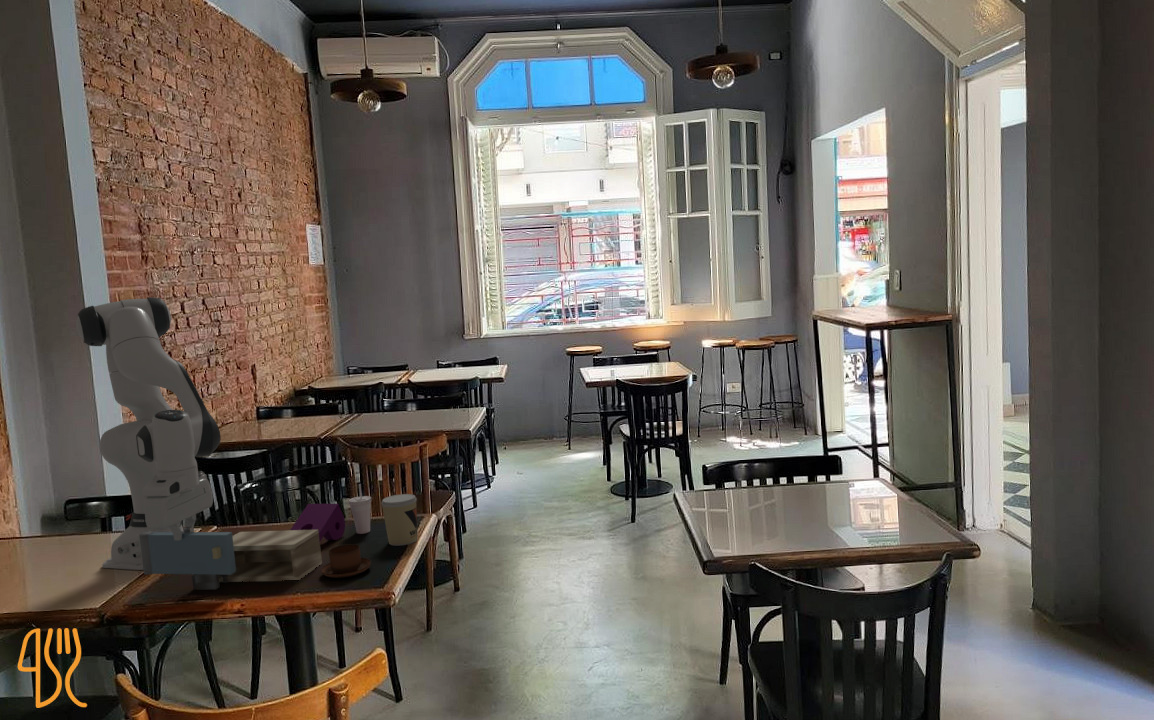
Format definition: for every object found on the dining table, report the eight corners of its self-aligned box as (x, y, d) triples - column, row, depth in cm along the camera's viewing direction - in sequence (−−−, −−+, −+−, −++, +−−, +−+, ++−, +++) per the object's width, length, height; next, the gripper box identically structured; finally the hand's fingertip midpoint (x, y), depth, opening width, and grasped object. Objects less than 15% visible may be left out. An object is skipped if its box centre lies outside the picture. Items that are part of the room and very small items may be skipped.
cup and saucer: (311, 580, 207) (308, 555, 206) (342, 563, 218) (339, 540, 217) (352, 583, 202) (349, 558, 201) (381, 566, 213) (379, 542, 213)
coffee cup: (416, 545, 228) (412, 501, 227) (382, 547, 228) (377, 504, 227) (423, 534, 237) (419, 492, 236) (390, 537, 237) (385, 495, 236)
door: (138, 575, 202) (133, 537, 201) (149, 569, 206) (145, 531, 205) (227, 576, 198) (222, 537, 197) (237, 570, 202) (233, 531, 201)
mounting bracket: (318, 574, 230) (348, 526, 245) (307, 550, 225) (338, 503, 241) (287, 573, 232) (318, 526, 248) (275, 550, 228) (308, 503, 243)
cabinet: (193, 589, 207) (188, 553, 206) (233, 565, 223) (229, 532, 222) (288, 588, 202) (283, 551, 201) (322, 563, 218) (318, 529, 218)
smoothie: (363, 536, 241) (357, 487, 239) (347, 534, 244) (341, 486, 243) (379, 529, 246) (374, 481, 245) (363, 527, 249) (358, 480, 248)
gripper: (193, 469, 211) (199, 523, 212) (136, 491, 191) (143, 551, 192) (216, 468, 209) (222, 523, 211) (161, 491, 189) (168, 551, 191)
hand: (184, 537), depth 201 cm, fingers closed on door, 2 cm apart
